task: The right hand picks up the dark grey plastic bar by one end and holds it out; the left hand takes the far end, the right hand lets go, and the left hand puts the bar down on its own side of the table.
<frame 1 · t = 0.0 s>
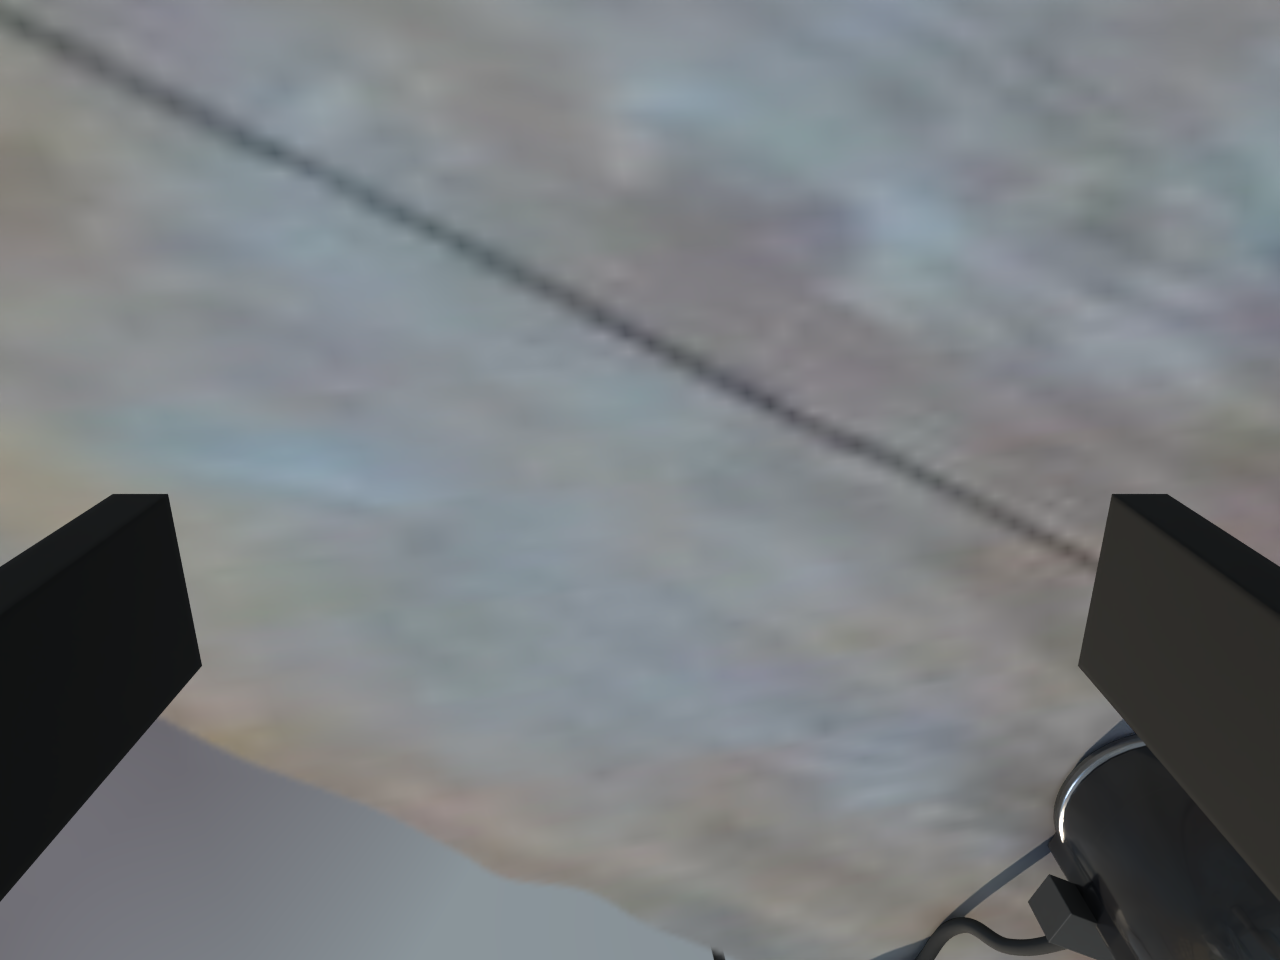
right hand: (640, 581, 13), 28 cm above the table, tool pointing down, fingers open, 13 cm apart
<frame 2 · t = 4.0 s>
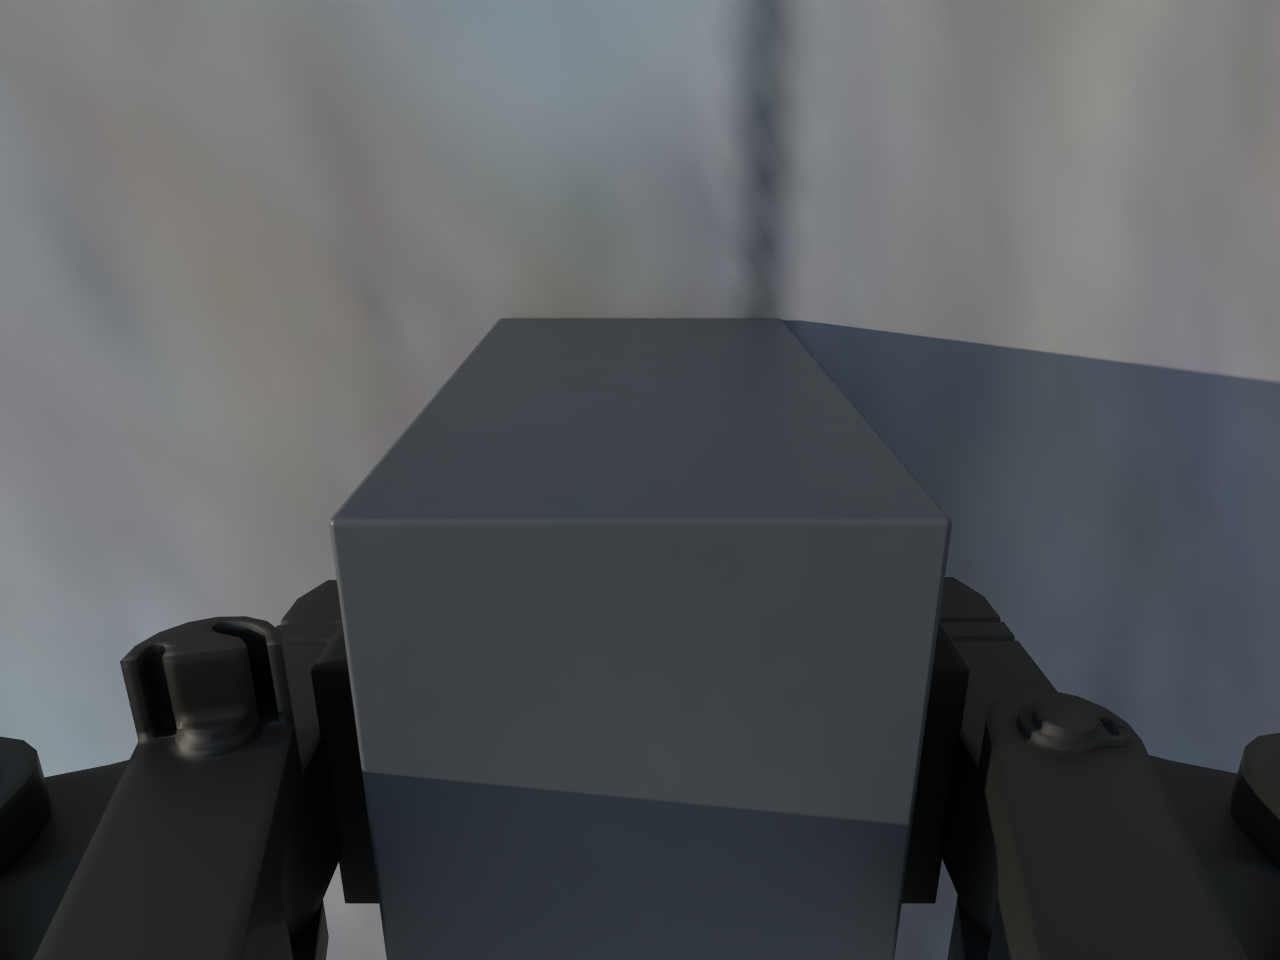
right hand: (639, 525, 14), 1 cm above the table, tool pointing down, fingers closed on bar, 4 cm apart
bar: (640, 915, 18), on the table, touching right hand
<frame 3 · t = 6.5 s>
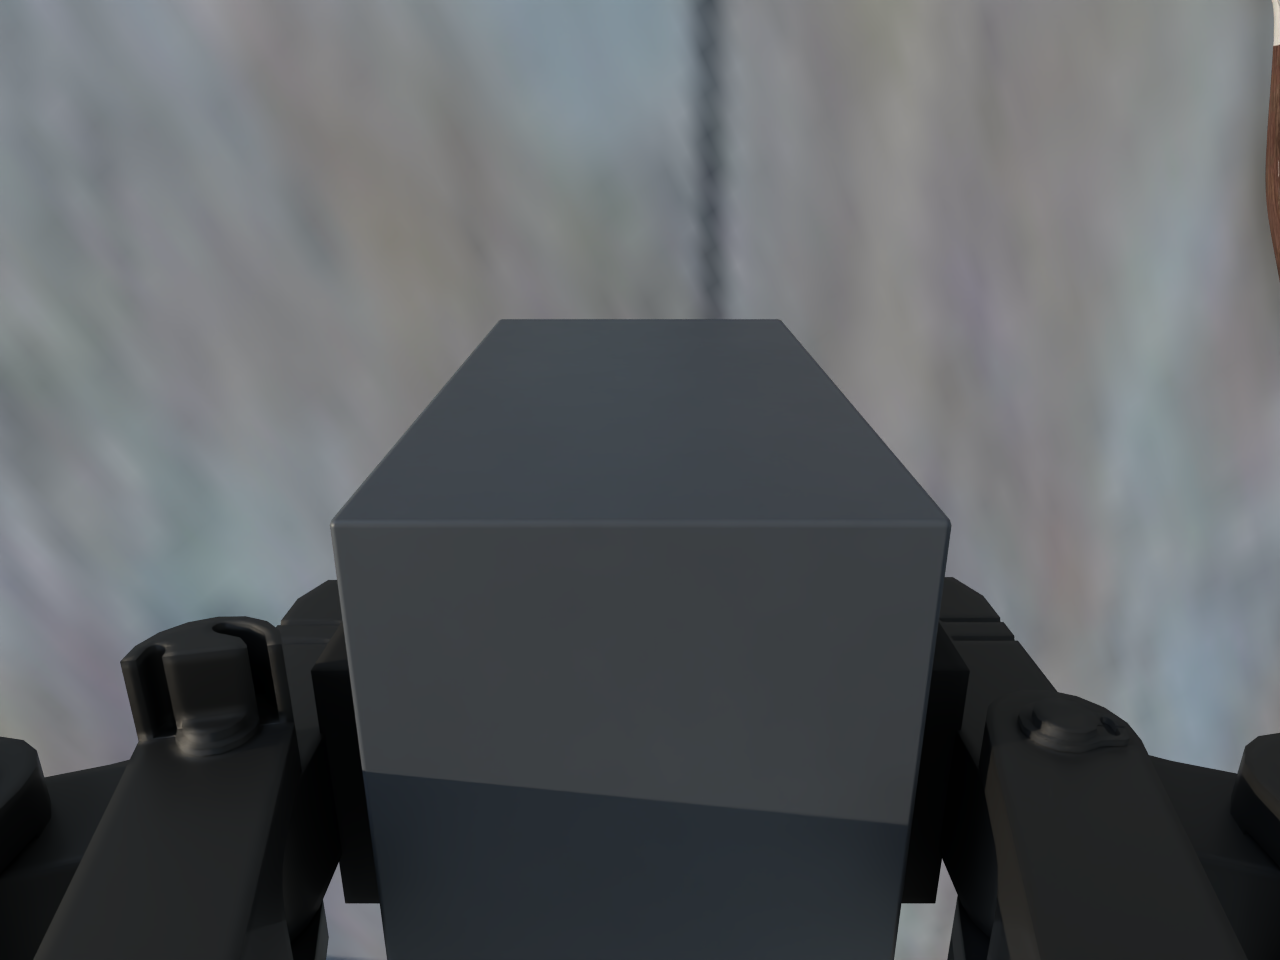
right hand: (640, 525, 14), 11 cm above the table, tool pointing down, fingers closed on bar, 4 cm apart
fork: (1269, 94, 22), on the table
bar: (640, 915, 18), point 10 cm above the table, touching right hand
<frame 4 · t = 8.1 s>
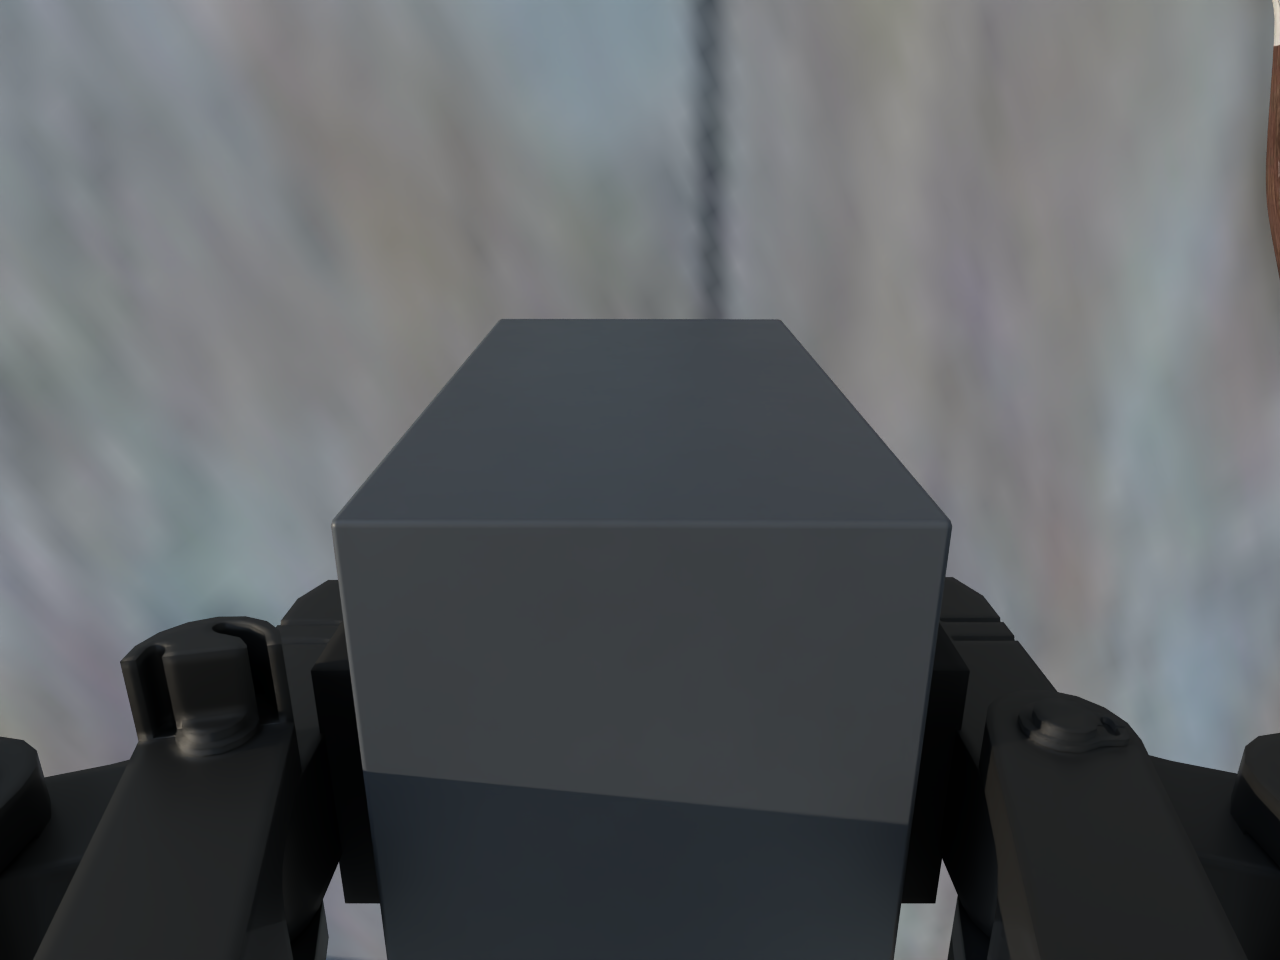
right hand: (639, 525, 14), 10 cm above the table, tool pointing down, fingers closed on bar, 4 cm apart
fork: (1270, 94, 22), on the table
bar: (639, 915, 18), point 10 cm above the table, touching right hand, left hand
when the right hand's fingers open (11 cm above the table, at t = 9.0 s): bar stays where it is, held by the left hand.
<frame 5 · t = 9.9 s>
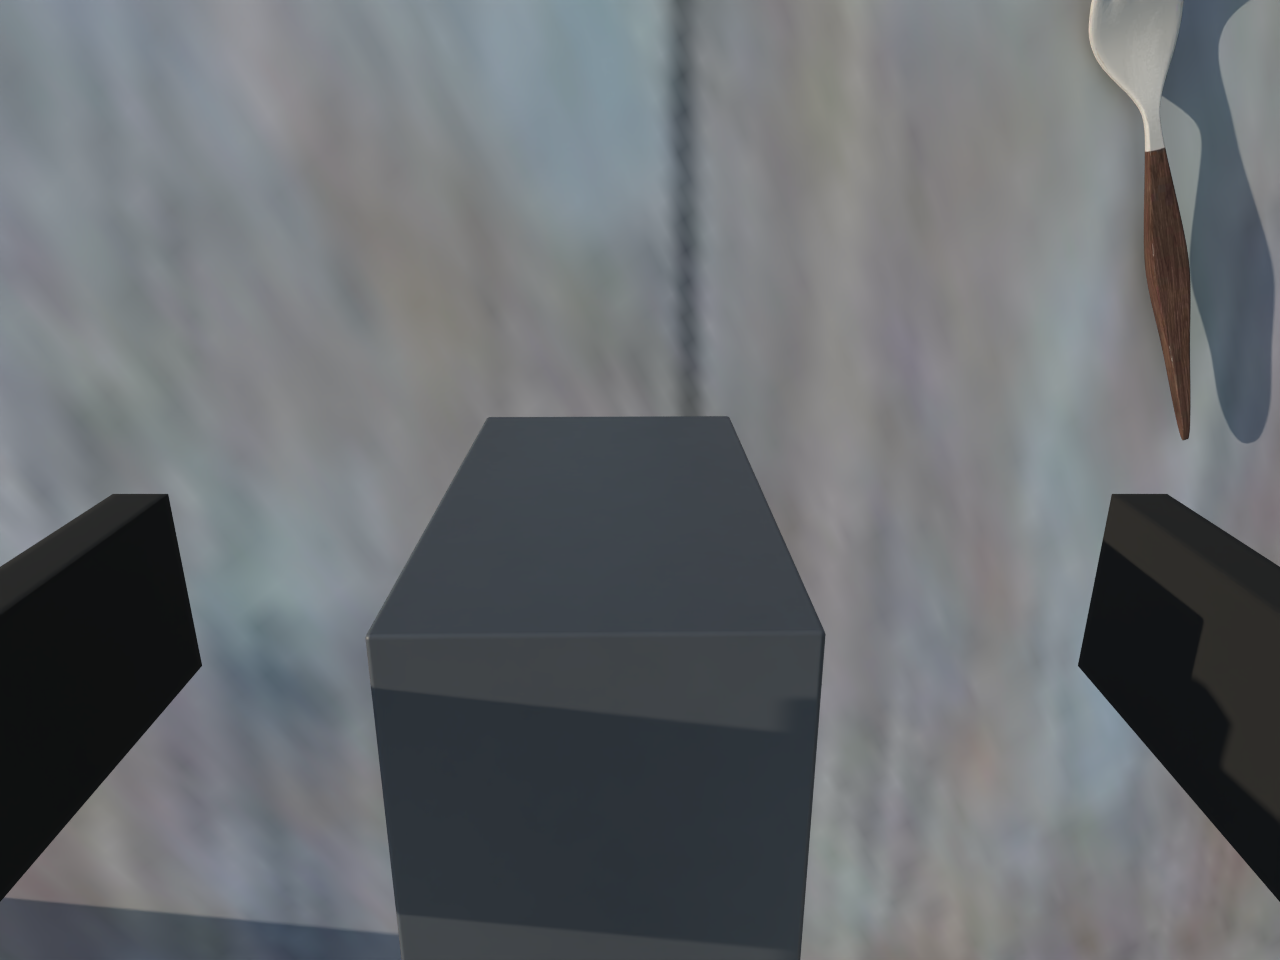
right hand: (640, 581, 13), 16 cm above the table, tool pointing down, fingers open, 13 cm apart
fork: (1146, 188, 27), on the table
bar: (614, 935, 20), point 12 cm above the table, touching left hand
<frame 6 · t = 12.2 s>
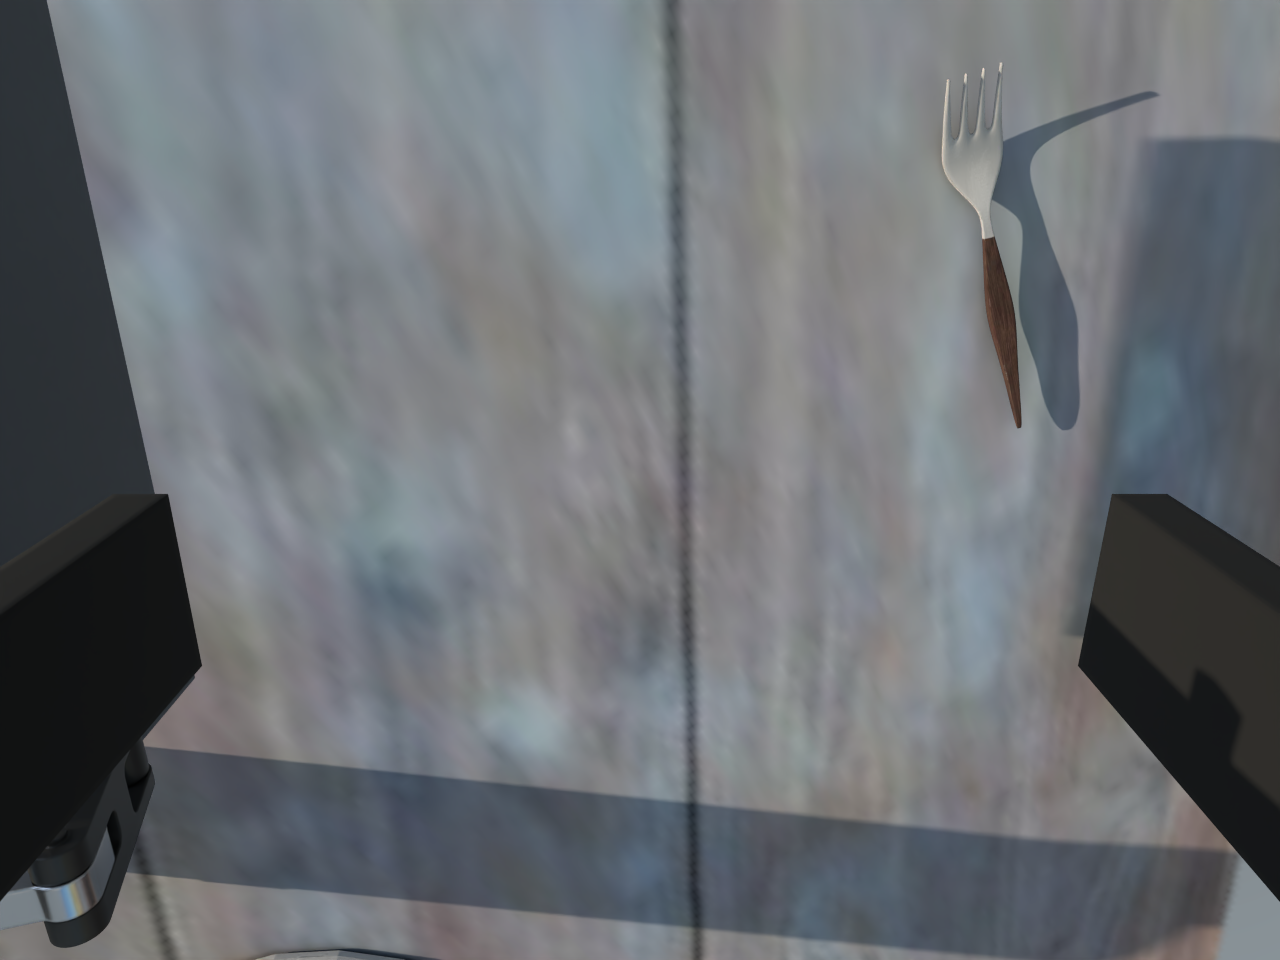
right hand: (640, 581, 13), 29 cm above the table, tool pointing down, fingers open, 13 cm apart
fork: (986, 260, 40), on the table
bar: (55, 353, 29), point 13 cm above the table, touching left hand
when the left hand's fingers open (5 cm above the table, at t = 16.6 s): bar stays where it is, on the table.
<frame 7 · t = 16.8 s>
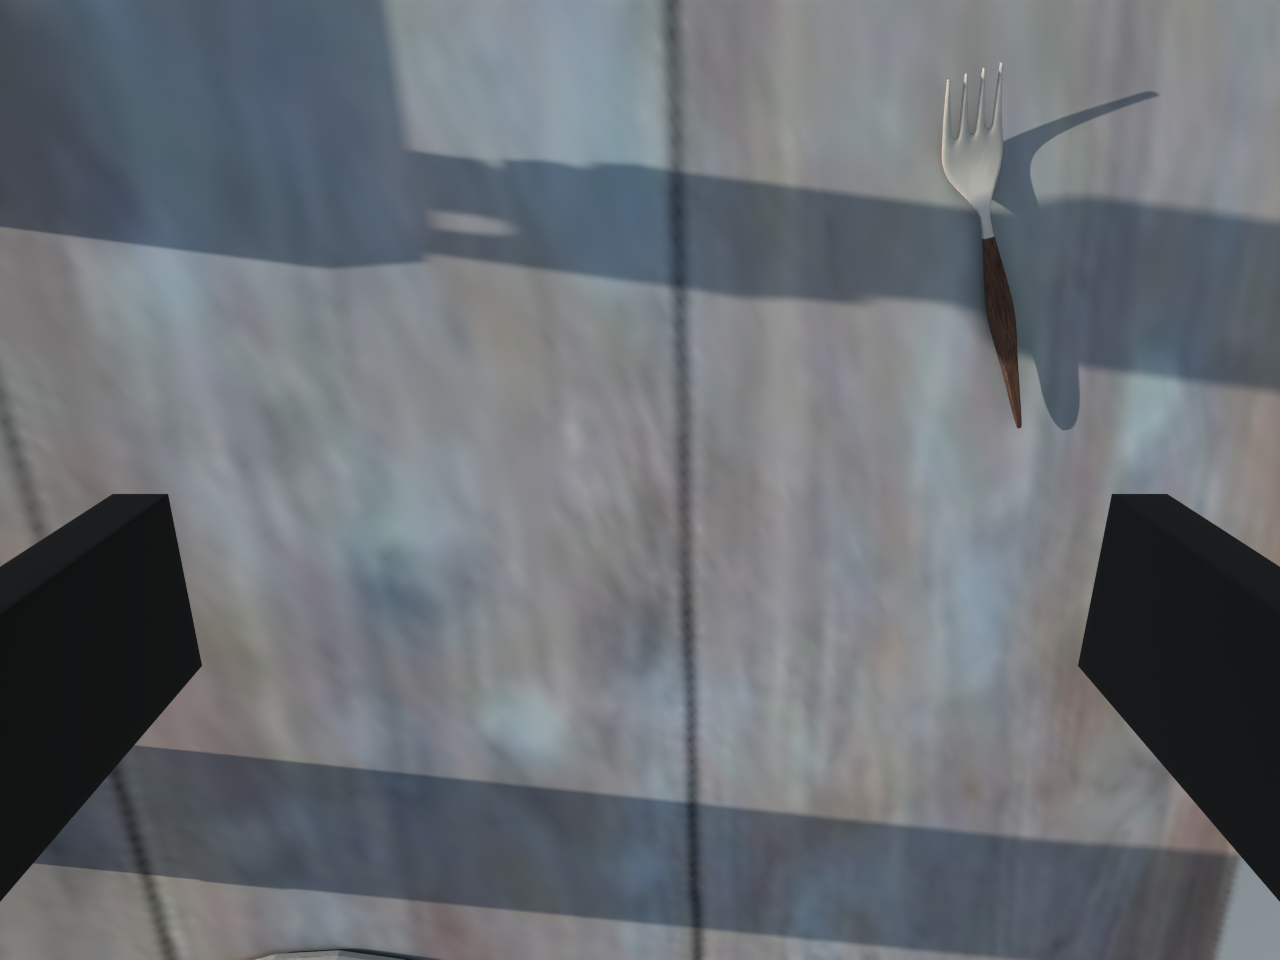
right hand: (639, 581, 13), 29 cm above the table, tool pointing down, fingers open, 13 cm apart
fork: (986, 260, 40), on the table
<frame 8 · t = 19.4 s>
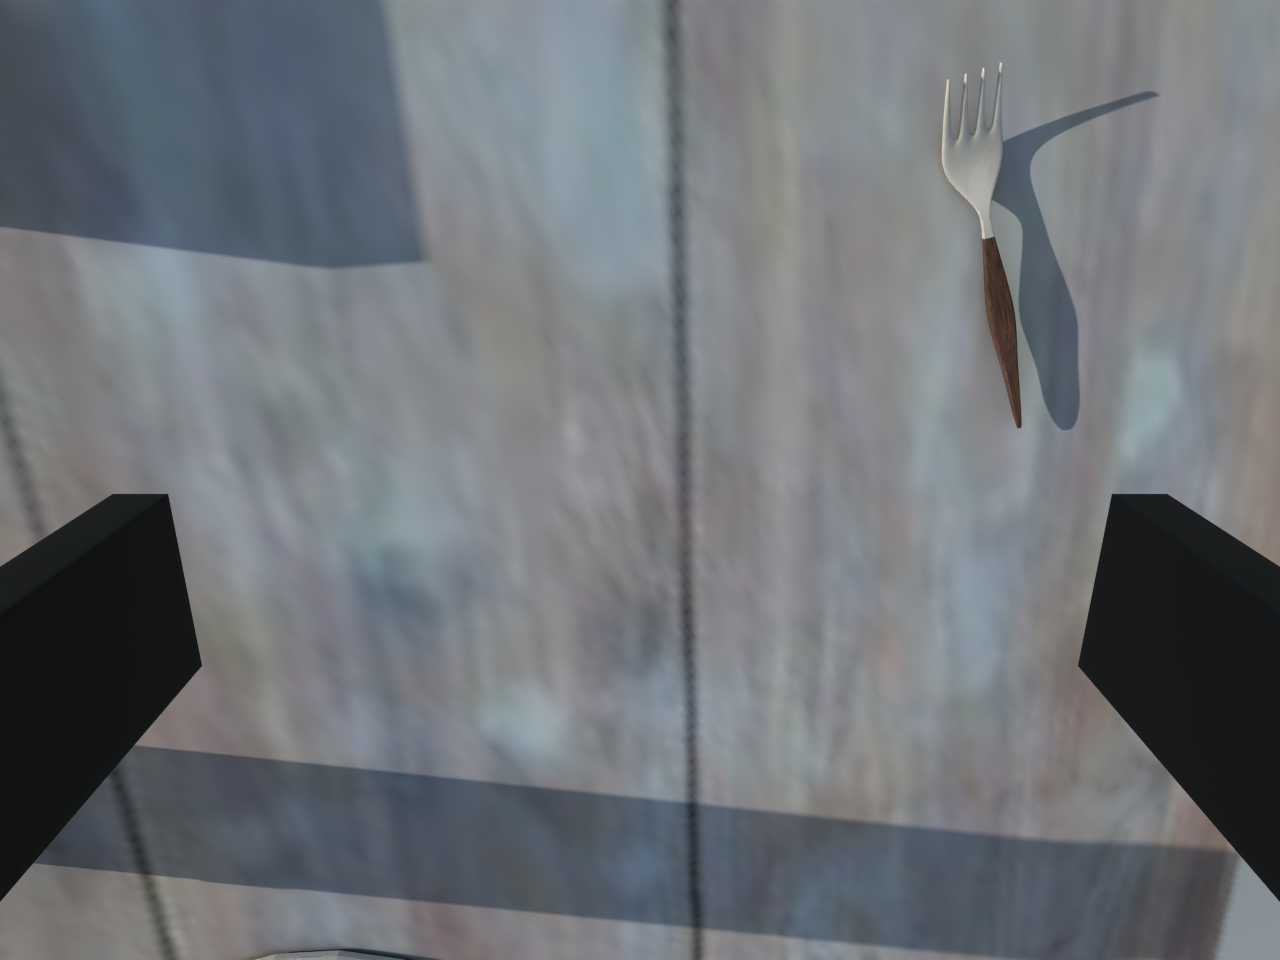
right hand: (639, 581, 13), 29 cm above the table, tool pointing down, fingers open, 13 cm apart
fork: (986, 260, 40), on the table
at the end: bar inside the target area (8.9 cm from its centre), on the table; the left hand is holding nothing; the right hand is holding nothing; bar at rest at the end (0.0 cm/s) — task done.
